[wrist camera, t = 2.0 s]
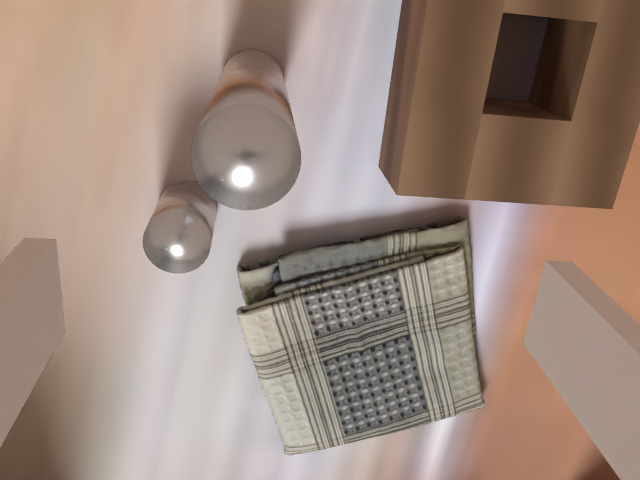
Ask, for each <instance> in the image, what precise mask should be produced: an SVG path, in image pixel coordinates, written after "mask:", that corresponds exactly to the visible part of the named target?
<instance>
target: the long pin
mask: <svg viewBox="0 0 640 480" xmlns="http://www.w3.org/2000/svg"><path fill="white" fill-rule="evenodd" d="M191 163H192V168H193V171H194V174H195V177H196V179H197V181H198V183H199V184H200V186H201V187H202V188H203V190H204V191H205V192H206V193H207V194H208V195H209V196H210V197H211V198H213V199H214V200H216V201H217V202H219V203H221V204H223V205H225V206H228V207H230V208H234V209H240V210H255V209H260V208H264V207H267V206H270V205H272V204H274V203H275V202H277V201H279V200H280V199H281V198H283V197H284V196H285V195H286V194H287V193H288V192H289V190H290V189H291V188H292V186H293V185H294V183H295V181H296V179H297V177H298V174H299V171H300V166H301V151H300V146H299V141H298V137H297V133H296V129H295V125H294V120H293V116H292V112H291V108H290V104H289V99H288V95H287V91H286V87H285V82H284V78H283V74H282V71H281V68H280V67H279V65H278V63H277V62H276V61H275V60H274V59H273V58H272V57H271V56H270V55H268V54H266V53H264V52H262V51H259V50H244V51H241V52H239V53H237V54H235V55H234V56H232V57H231V58H230V59H229V60H228V61H227V63H226V64H225V66H224V68H223V71H222V73H221V76H220V78H219V80H218V83H217V85H216V87H215V90H214V92H213V95H212V97H211V99H210V102H209V104H208V106H207V109H206V111H205V114H204V116H203V118H202V121H201V123H200V125H199V128H198V130H197V133H196V135H195V138H194V140H193V144H192V149H191Z"/></svg>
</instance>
